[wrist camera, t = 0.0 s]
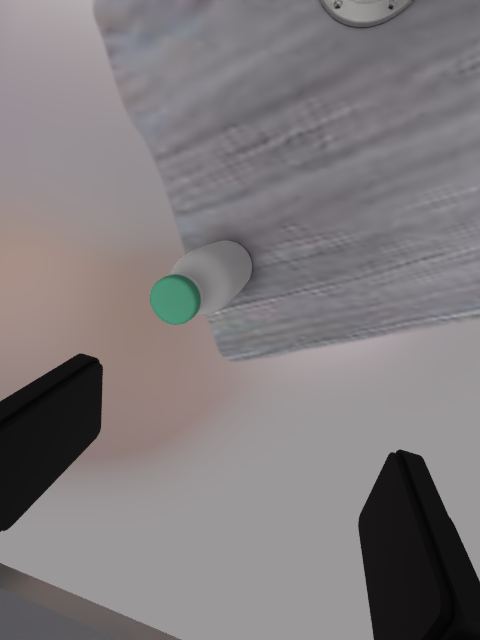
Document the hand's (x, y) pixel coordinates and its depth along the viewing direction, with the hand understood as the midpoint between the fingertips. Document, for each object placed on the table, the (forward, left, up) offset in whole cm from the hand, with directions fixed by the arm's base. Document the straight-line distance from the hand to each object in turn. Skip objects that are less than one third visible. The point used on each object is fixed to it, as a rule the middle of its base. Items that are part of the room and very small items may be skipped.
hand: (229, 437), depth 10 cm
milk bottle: (-3, -10, -38) cm, 39 cm away
